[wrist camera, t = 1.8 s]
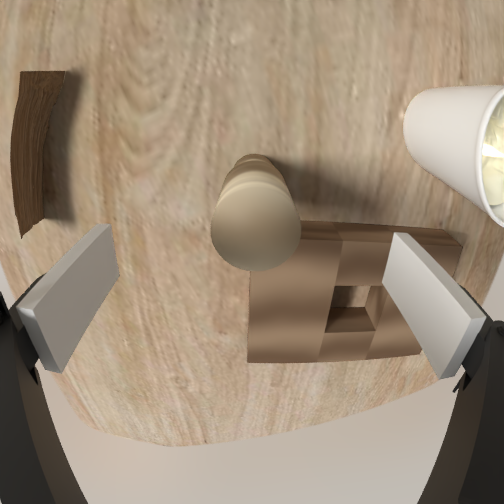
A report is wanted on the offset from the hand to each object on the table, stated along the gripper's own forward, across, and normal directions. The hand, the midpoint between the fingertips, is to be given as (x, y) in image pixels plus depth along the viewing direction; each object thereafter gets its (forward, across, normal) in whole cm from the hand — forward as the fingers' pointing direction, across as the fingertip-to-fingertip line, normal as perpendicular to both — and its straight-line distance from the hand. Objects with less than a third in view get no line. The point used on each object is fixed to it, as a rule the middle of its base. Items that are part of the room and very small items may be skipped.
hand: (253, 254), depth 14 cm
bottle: (+14, 0, 0) cm, 14 cm away
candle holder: (+14, +17, +6) cm, 23 cm away
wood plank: (+14, -20, +4) cm, 25 cm away
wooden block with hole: (+14, +10, -10) cm, 20 cm away
